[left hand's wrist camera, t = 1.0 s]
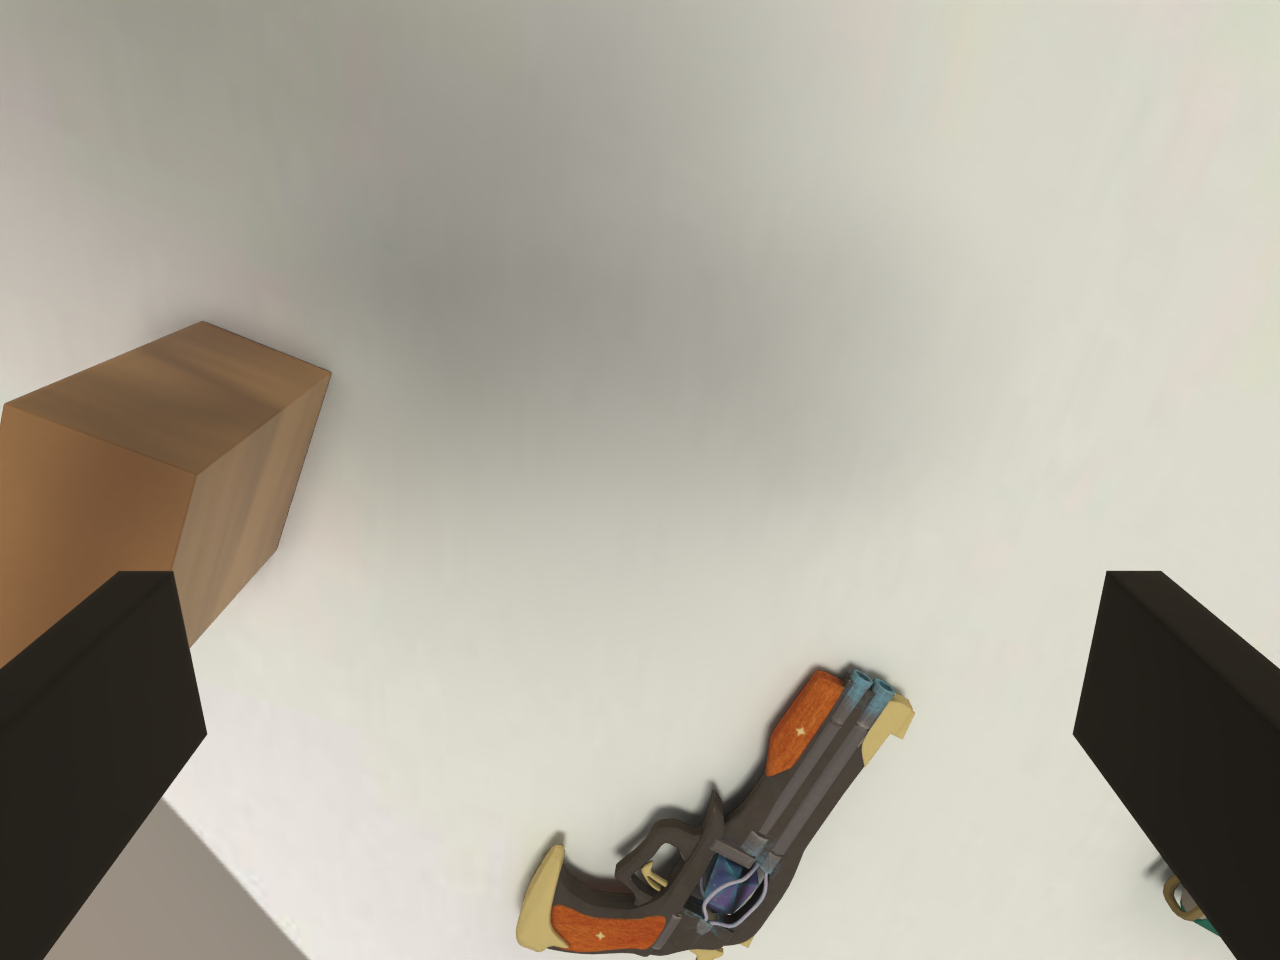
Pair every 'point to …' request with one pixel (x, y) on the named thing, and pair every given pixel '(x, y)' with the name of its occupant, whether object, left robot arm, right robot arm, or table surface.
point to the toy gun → (725, 839)
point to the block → (151, 476)
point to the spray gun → (1185, 905)
